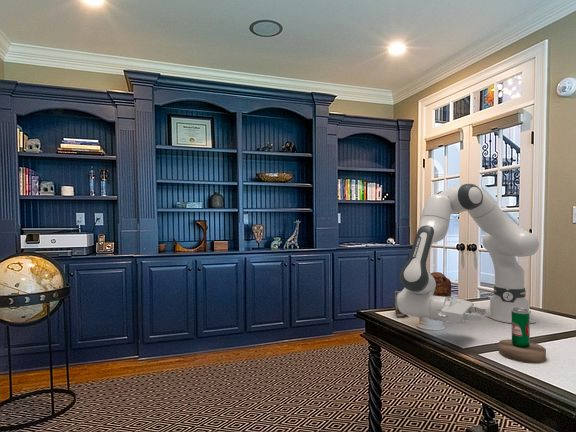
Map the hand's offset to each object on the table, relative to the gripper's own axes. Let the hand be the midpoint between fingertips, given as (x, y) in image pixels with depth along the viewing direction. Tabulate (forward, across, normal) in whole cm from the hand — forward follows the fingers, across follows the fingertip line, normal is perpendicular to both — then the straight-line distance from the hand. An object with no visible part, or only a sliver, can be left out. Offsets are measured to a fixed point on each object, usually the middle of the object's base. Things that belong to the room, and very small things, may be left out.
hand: (483, 314), depth 128 cm
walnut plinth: (+11, 0, +12) cm, 16 cm away
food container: (-37, +25, +12) cm, 46 cm away
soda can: (+11, 0, +9) cm, 14 cm away
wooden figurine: (-27, +45, +12) cm, 54 cm away
